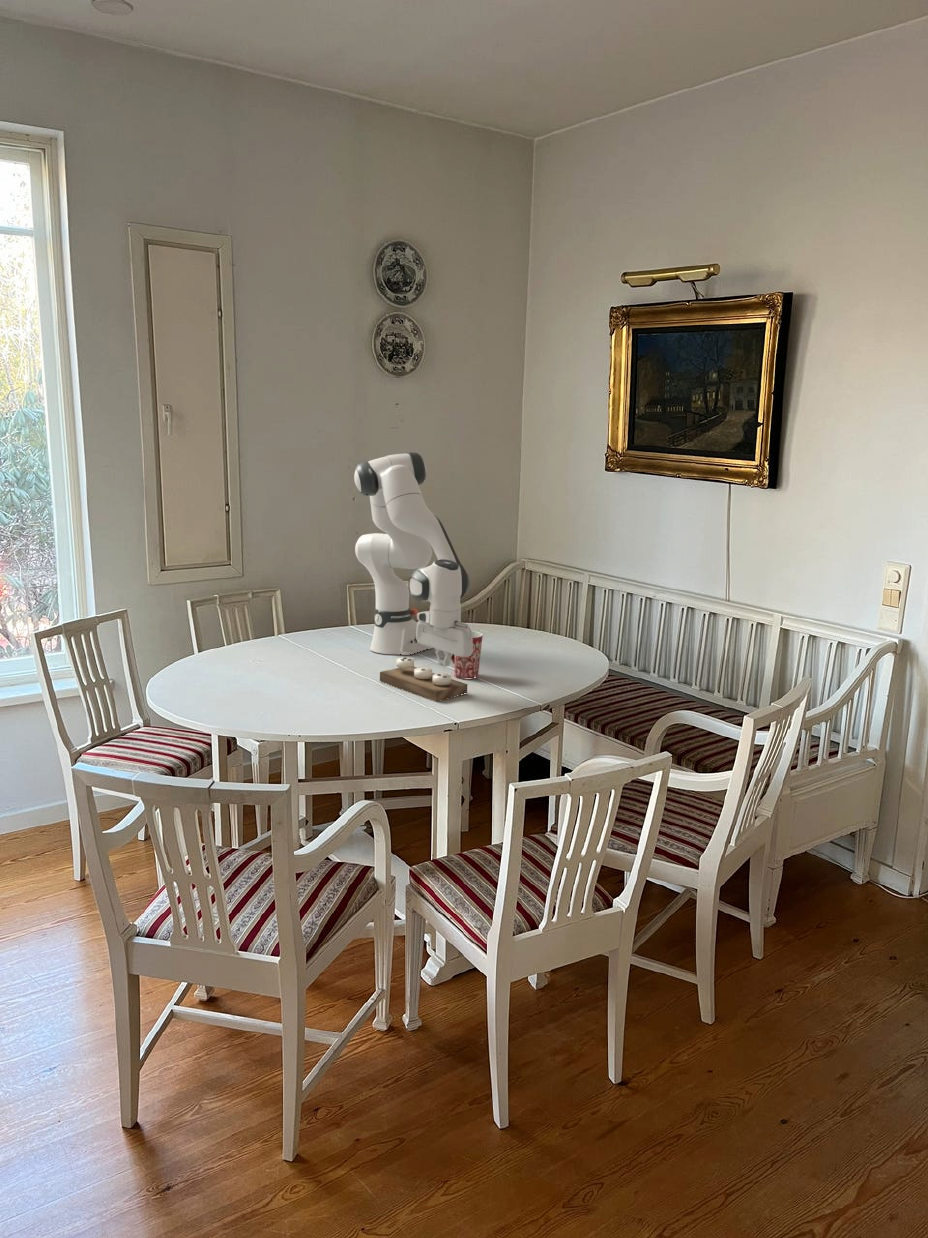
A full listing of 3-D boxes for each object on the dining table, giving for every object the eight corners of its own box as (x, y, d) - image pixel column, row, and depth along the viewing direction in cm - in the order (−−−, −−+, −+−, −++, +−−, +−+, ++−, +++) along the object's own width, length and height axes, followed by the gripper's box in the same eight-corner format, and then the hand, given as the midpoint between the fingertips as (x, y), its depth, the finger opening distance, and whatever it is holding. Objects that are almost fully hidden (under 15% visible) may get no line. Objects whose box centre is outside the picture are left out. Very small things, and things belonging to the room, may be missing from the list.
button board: (410, 675, 288) (410, 665, 288) (467, 694, 271) (467, 684, 270) (379, 681, 280) (379, 671, 279) (436, 701, 262) (436, 691, 262)
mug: (487, 677, 289) (489, 634, 286) (466, 682, 283) (468, 638, 280) (458, 668, 298) (460, 626, 295) (437, 673, 292) (439, 630, 289)
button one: (423, 673, 278) (424, 666, 278) (435, 677, 275) (435, 669, 274) (410, 676, 275) (410, 668, 274) (422, 680, 271) (422, 672, 271)
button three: (406, 662, 283) (406, 655, 283) (417, 666, 280) (417, 659, 279) (392, 665, 280) (393, 658, 279) (404, 669, 276) (404, 662, 276)
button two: (442, 679, 273) (442, 672, 272) (454, 683, 269) (454, 676, 268) (428, 682, 269) (428, 674, 269) (440, 686, 265) (441, 679, 265)
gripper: (479, 623, 260) (477, 671, 263) (429, 610, 274) (428, 655, 278) (462, 626, 256) (461, 675, 259) (413, 612, 270) (411, 659, 273)
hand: (443, 665), depth 268 cm, fingers closed
